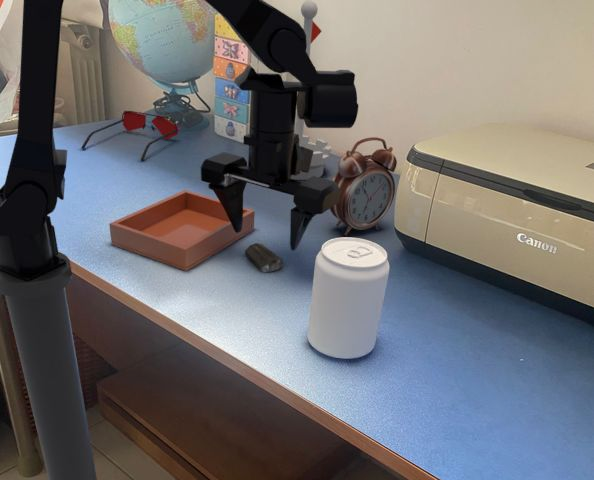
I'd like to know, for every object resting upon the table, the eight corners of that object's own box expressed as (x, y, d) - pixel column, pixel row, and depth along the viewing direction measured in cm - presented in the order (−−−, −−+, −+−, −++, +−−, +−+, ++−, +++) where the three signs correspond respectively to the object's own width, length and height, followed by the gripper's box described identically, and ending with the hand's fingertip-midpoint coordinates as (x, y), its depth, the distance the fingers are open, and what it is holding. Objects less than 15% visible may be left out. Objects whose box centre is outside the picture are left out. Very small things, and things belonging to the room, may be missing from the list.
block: (261, 252, 88) (262, 240, 87) (285, 268, 84) (286, 257, 83) (241, 257, 86) (241, 246, 85) (265, 274, 82) (265, 262, 81)
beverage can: (292, 339, 70) (301, 247, 63) (338, 317, 75) (350, 229, 68) (343, 371, 65) (358, 276, 58) (388, 346, 70) (407, 255, 63)
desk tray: (186, 271, 81) (185, 249, 79) (111, 244, 86) (109, 223, 84) (254, 230, 94) (254, 210, 92) (185, 208, 99) (185, 189, 97)
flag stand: (307, 186, 112) (324, 6, 95) (251, 170, 117) (258, -4, 100) (339, 170, 122) (360, 3, 104) (286, 155, 127) (297, -6, 109)
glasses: (181, 141, 129) (180, 117, 126) (142, 161, 116) (141, 135, 113) (124, 130, 132) (122, 107, 129) (81, 149, 119) (77, 124, 116)
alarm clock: (339, 240, 94) (352, 145, 85) (322, 228, 97) (332, 135, 88) (390, 229, 99) (408, 138, 90) (372, 218, 102) (387, 130, 93)
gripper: (364, 129, 77) (348, 239, 86) (244, 102, 83) (241, 207, 92) (327, 148, 69) (313, 267, 78) (197, 116, 75) (198, 230, 84)
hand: (265, 240), depth 83 cm, fingers open, 9 cm apart
